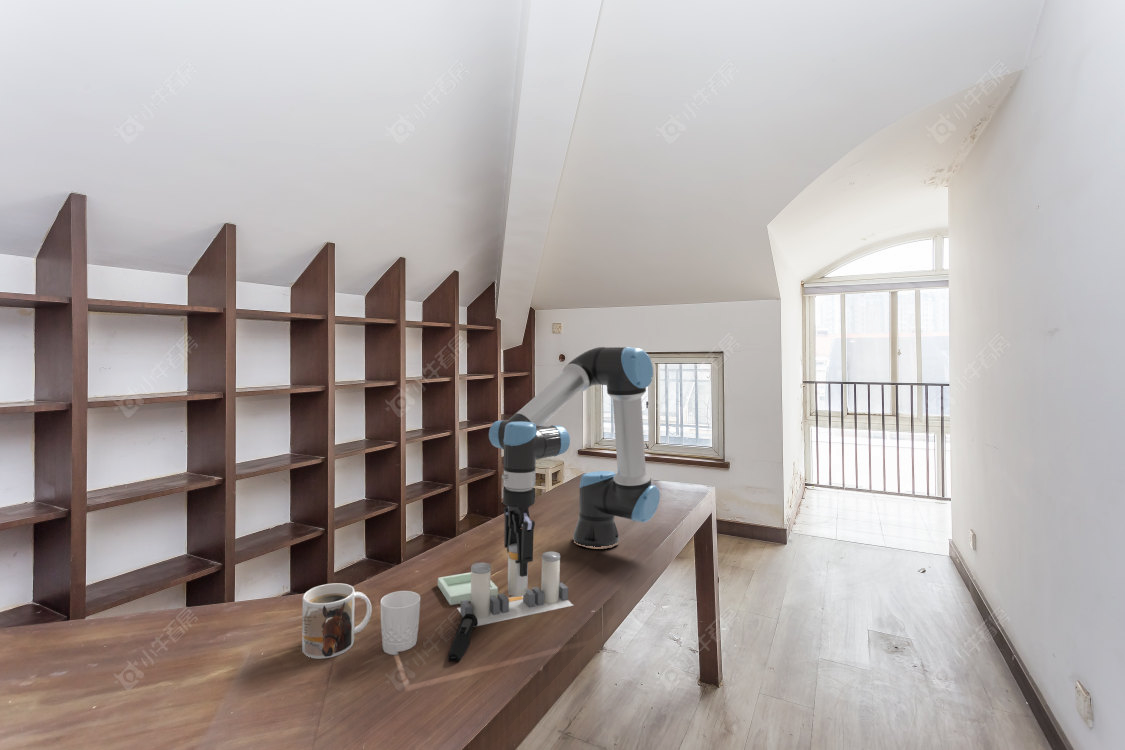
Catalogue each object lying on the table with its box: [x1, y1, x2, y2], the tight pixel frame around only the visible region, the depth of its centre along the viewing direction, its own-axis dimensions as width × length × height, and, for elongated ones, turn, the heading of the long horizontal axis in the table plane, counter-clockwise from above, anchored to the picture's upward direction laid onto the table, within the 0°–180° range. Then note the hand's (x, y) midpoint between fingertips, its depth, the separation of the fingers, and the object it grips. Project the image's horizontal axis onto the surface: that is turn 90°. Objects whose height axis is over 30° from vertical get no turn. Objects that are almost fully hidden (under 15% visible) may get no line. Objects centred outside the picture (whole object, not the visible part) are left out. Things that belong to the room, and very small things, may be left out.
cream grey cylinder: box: [540, 551, 561, 604], centre depth 132 cm, size 4×4×11 cm
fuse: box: [470, 562, 492, 619], centre depth 124 cm, size 4×4×11 cm
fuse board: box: [456, 581, 574, 628], centre depth 128 cm, size 26×10×4 cm, turn 117°
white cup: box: [379, 590, 421, 656], centre depth 111 cm, size 8×8×10 cm
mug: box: [301, 582, 372, 660], centre depth 111 cm, size 10×12×11 cm
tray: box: [437, 571, 499, 606], centre depth 136 cm, size 12×12×3 cm
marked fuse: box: [507, 543, 527, 597], centre depth 128 cm, size 4×4×11 cm
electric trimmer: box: [447, 614, 478, 662], centre depth 112 cm, size 4×16×3 cm, turn 177°
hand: (517, 583), depth 128 cm, fingers closed on marked fuse, 4 cm apart
